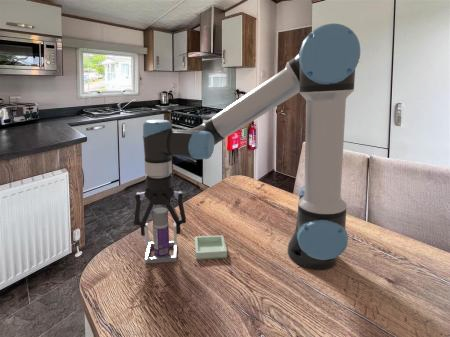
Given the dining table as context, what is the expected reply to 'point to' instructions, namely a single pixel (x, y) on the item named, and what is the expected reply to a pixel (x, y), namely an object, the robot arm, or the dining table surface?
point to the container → (160, 232)
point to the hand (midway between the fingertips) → (161, 243)
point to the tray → (210, 247)
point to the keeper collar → (160, 259)
